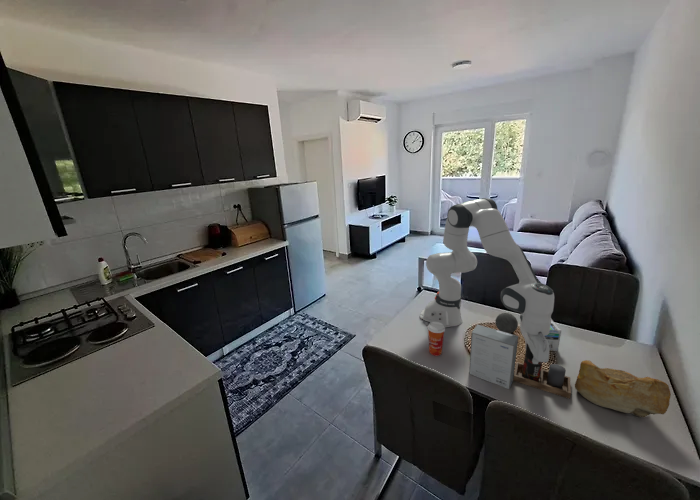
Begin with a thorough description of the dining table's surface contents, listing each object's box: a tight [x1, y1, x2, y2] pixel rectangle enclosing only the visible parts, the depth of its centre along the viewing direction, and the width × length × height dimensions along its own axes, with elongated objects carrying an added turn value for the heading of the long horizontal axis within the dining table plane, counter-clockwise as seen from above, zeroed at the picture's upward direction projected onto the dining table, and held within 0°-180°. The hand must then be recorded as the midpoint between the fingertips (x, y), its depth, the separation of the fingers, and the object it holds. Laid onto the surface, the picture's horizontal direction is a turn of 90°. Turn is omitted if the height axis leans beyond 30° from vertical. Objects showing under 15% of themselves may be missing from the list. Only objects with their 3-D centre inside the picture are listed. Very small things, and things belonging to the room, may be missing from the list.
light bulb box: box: [544, 318, 562, 352], centre depth 136 cm, size 11×7×11 cm, turn 168°
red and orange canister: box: [426, 322, 446, 357], centre depth 134 cm, size 8×8×14 cm
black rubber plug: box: [547, 363, 566, 389], centre depth 111 cm, size 5×5×8 cm
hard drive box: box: [468, 324, 519, 390], centre depth 117 cm, size 16×8×20 cm, turn 50°
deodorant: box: [522, 344, 543, 382], centre depth 115 cm, size 6×6×15 cm
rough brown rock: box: [574, 359, 672, 418], centre depth 103 cm, size 23×17×15 cm
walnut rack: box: [513, 361, 572, 399], centre depth 114 cm, size 18×9×3 cm, turn 56°
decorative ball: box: [494, 312, 519, 334], centre depth 147 cm, size 10×10×10 cm
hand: (531, 356), depth 114 cm, fingers closed on deodorant, 6 cm apart
